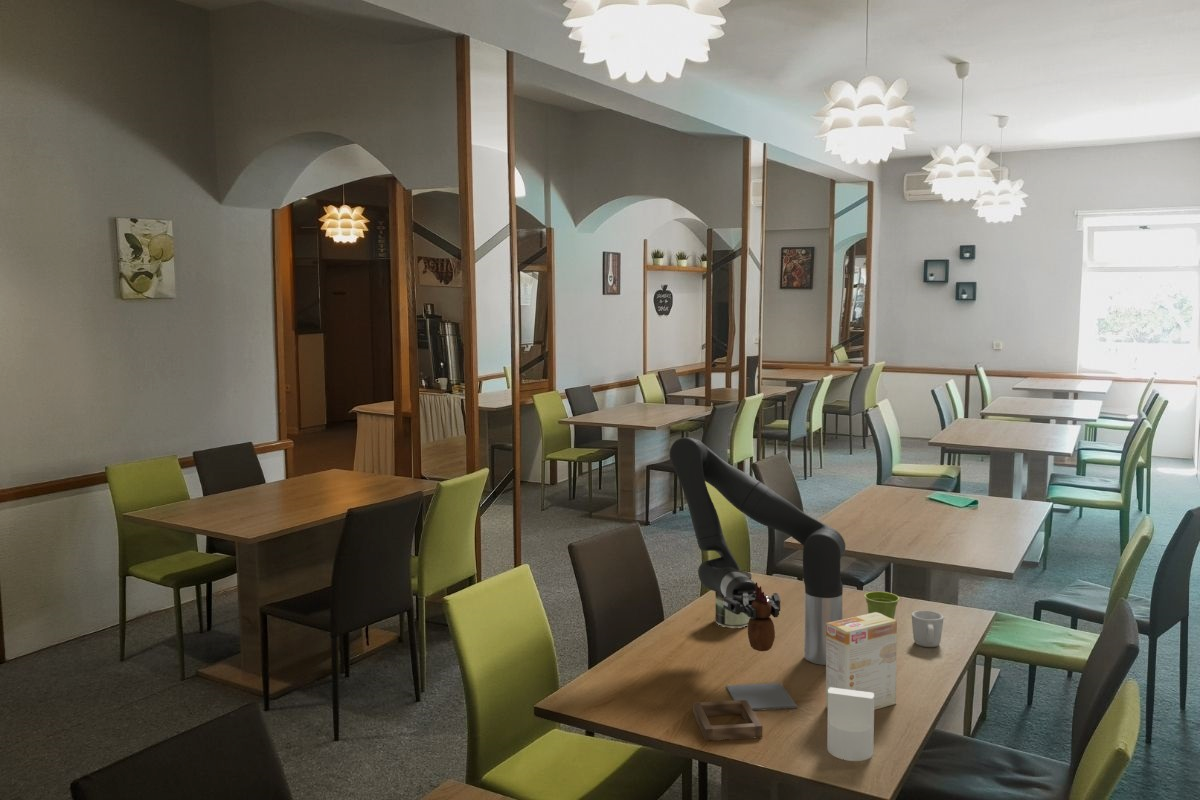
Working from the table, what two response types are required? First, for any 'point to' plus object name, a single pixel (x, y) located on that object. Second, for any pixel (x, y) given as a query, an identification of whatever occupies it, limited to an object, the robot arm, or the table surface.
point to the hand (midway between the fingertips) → (765, 613)
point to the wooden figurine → (761, 623)
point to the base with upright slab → (850, 724)
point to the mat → (762, 695)
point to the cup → (927, 628)
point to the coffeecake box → (863, 656)
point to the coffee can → (728, 617)
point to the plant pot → (882, 603)
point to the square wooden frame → (727, 731)
